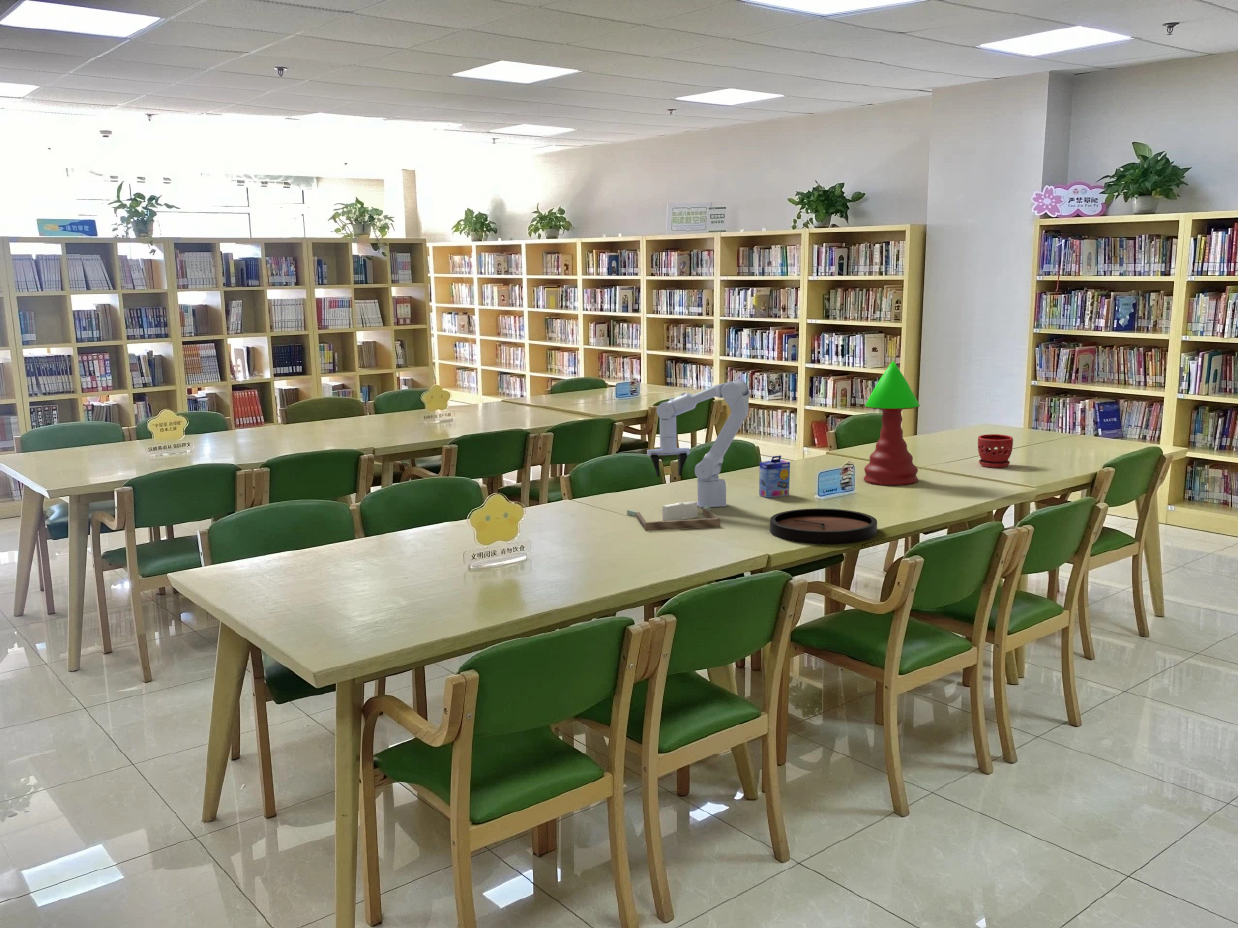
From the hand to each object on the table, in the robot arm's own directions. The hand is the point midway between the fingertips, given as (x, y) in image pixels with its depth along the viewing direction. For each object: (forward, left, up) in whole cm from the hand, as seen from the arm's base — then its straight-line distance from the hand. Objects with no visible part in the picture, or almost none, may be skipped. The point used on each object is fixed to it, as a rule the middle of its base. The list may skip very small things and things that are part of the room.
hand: (668, 475), depth 347 cm
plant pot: (-138, -36, -10) cm, 143 cm away
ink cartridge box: (-38, -2, -10) cm, 39 cm away
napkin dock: (+3, +27, -9) cm, 29 cm away
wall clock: (-37, +53, -10) cm, 65 cm away
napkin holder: (+1, +26, -10) cm, 28 cm away
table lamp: (-87, -17, -10) cm, 89 cm away
